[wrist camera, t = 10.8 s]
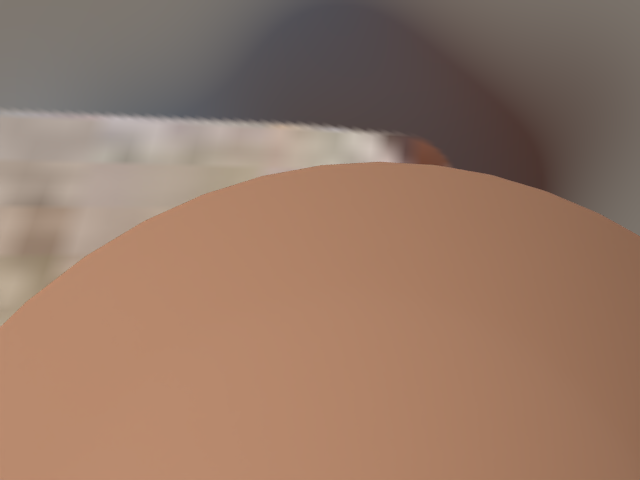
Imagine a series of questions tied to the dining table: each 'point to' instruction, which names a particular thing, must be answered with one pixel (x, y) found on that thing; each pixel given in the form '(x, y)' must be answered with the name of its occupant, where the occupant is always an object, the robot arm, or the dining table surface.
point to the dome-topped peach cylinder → (336, 338)
